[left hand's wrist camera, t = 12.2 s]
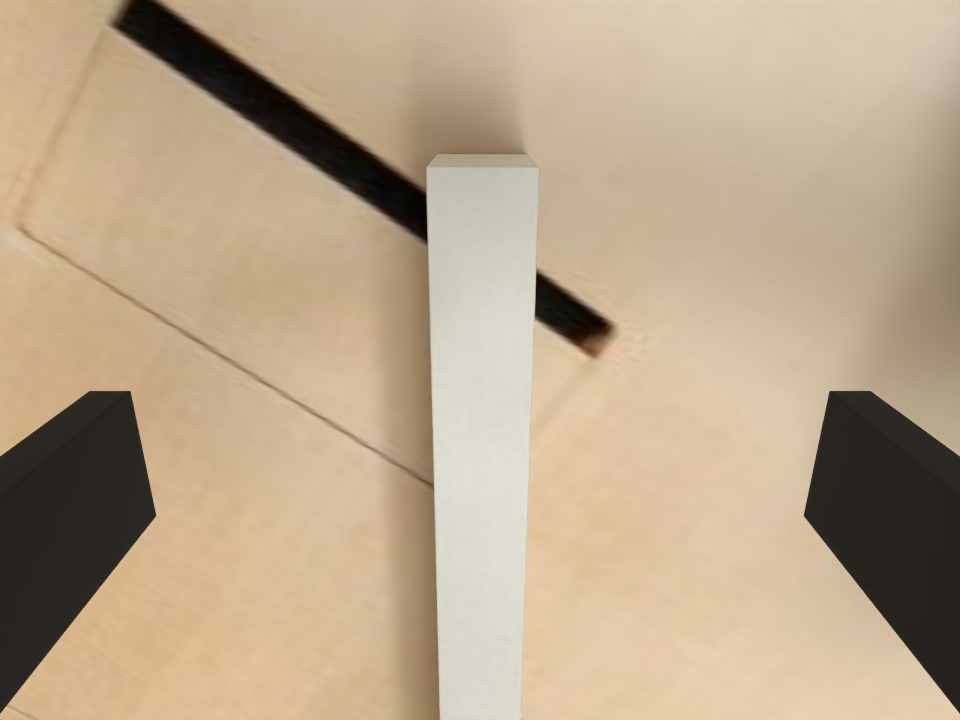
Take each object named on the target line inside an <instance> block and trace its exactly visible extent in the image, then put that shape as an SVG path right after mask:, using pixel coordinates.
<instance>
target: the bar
mask: <svg viewBox="0 0 960 720" xmlns="http://www.w3.org/2000/svg"><path fill="white" fill-rule="evenodd" d="M539 175H540V168H539V167H538V165H537V164H536V163H535V162H534V161H533V160H532V159H531V158H530V157H529V156H528V155H527V154H437V155H436V156H435V158H434V159H433V160H432V161H431V162H430V163H429V165H428V166H427V167H426V189H427V229H428V269H429V309H430V349H431V390H432V430H433V470H434V510H435V550H436V591H437V631H438V671H439V711H440V720H521V693H522V664H523V635H524V607H525V578H526V549H527V520H528V492H529V463H530V434H531V405H532V377H533V348H534V319H535V290H536V262H537V233H538V204H539Z"/></svg>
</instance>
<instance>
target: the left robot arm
mask: <svg viewBox="0 0 960 720" xmlns="http://www.w3.org/2000/svg"><path fill="white" fill-rule="evenodd" d="M155 517H156V512H155V508H154V503H153V498H152V493H151V488H150V483H149V479H148V474H147V469H146V464H145V459H144V454H143V450H142V445H141V440H140V435H139V430H138V426H137V421H136V416H135V411H134V406H133V401H132V397H131V392H130V391H89V392H88V393H86V394H85V395H84V396H82V397H81V398H80V399H78V400H77V401H75V402H74V403H73V404H71V405H70V406H69V407H67V408H66V409H65V410H63V411H62V412H60V413H59V414H58V415H56V416H55V417H54V418H52V419H51V420H50V421H48V422H47V423H45V424H44V425H43V426H41V427H40V428H39V429H37V430H36V431H34V432H33V433H32V434H30V435H29V436H28V437H26V438H25V439H24V440H22V441H21V442H19V443H18V444H17V445H15V446H14V447H13V448H11V449H10V450H8V451H7V452H6V453H4V454H3V455H2V456H0V713H1V712H2V711H3V709H4V708H5V707H6V706H7V704H8V703H9V702H10V700H11V699H12V698H13V697H14V695H15V694H16V693H17V692H18V690H19V689H20V688H21V687H22V685H23V684H24V683H25V681H26V680H27V679H28V678H29V676H30V675H31V674H32V673H33V671H34V670H35V669H36V668H37V666H38V665H39V664H40V662H41V661H42V660H43V659H44V657H45V656H46V655H47V654H48V652H49V651H50V650H51V649H52V647H53V646H54V645H55V643H56V642H57V641H58V640H59V638H60V637H61V636H62V635H63V633H64V632H65V631H66V630H67V628H68V627H69V626H70V624H71V623H72V622H73V621H74V619H75V618H76V617H77V616H78V614H79V613H80V612H81V610H82V609H83V608H84V607H85V605H86V604H87V603H88V602H89V600H90V599H91V598H92V597H93V595H94V594H95V593H96V591H97V590H98V589H99V588H100V586H101V585H102V584H103V583H104V581H105V580H106V579H107V578H108V576H109V575H110V574H111V572H112V571H113V570H114V569H115V567H116V566H117V565H118V564H119V562H120V561H121V560H122V559H123V557H124V556H125V555H126V553H127V552H128V551H129V550H130V548H131V547H132V546H133V545H134V543H135V542H136V541H137V540H138V538H139V537H140V536H141V534H142V533H143V532H144V531H145V529H146V528H147V527H148V526H149V524H150V523H151V522H152V521H153V519H154V518H155ZM804 517H805V518H806V519H807V521H808V522H809V523H810V524H811V526H812V527H813V528H814V529H815V531H816V532H817V533H818V534H819V536H820V537H821V538H822V540H823V541H824V542H825V543H826V545H827V546H828V547H829V548H830V550H831V551H832V552H833V553H834V555H835V556H836V557H837V559H838V560H839V561H840V562H841V564H842V565H843V566H844V567H845V569H846V570H847V571H848V572H849V574H850V575H851V576H852V578H853V579H854V580H855V581H856V583H857V584H858V585H859V586H860V588H861V589H862V590H863V591H864V593H865V594H866V595H867V597H868V598H869V599H870V600H871V602H872V603H873V604H874V605H875V607H876V608H877V609H878V611H879V612H880V613H881V614H882V616H883V617H884V618H885V619H886V621H887V622H888V623H889V624H890V626H891V627H892V628H893V630H894V631H895V632H896V633H897V635H898V636H899V637H900V638H901V640H902V641H903V642H904V643H905V645H906V646H907V647H908V649H909V650H910V651H911V652H912V654H913V655H914V656H915V657H916V659H917V660H918V661H919V662H920V664H921V665H922V666H923V668H924V669H925V670H926V671H927V673H928V674H929V675H930V676H931V678H932V679H933V680H934V681H935V683H936V684H937V685H938V687H939V688H940V689H941V690H942V692H943V693H944V694H945V695H946V697H947V698H948V699H949V700H950V702H951V703H952V704H953V706H954V707H955V708H956V709H957V711H958V712H959V713H960V456H958V455H957V454H956V453H954V452H953V451H952V450H950V449H949V448H947V447H946V446H945V445H943V444H942V443H941V442H939V441H938V440H936V439H935V438H934V437H932V436H931V435H930V434H928V433H927V432H926V431H924V430H923V429H921V428H920V427H919V426H917V425H916V424H915V423H913V422H912V421H910V420H909V419H908V418H906V417H905V416H904V415H902V414H901V413H900V412H898V411H897V410H895V409H894V408H893V407H891V406H890V405H889V404H887V403H886V402H885V401H883V400H882V399H880V398H879V397H878V396H876V395H875V394H874V393H872V392H871V391H830V392H829V397H828V401H827V406H826V411H825V416H824V421H823V426H822V430H821V435H820V440H819V445H818V450H817V454H816V459H815V464H814V469H813V474H812V479H811V483H810V488H809V493H808V498H807V503H806V508H805V512H804Z"/></svg>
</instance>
